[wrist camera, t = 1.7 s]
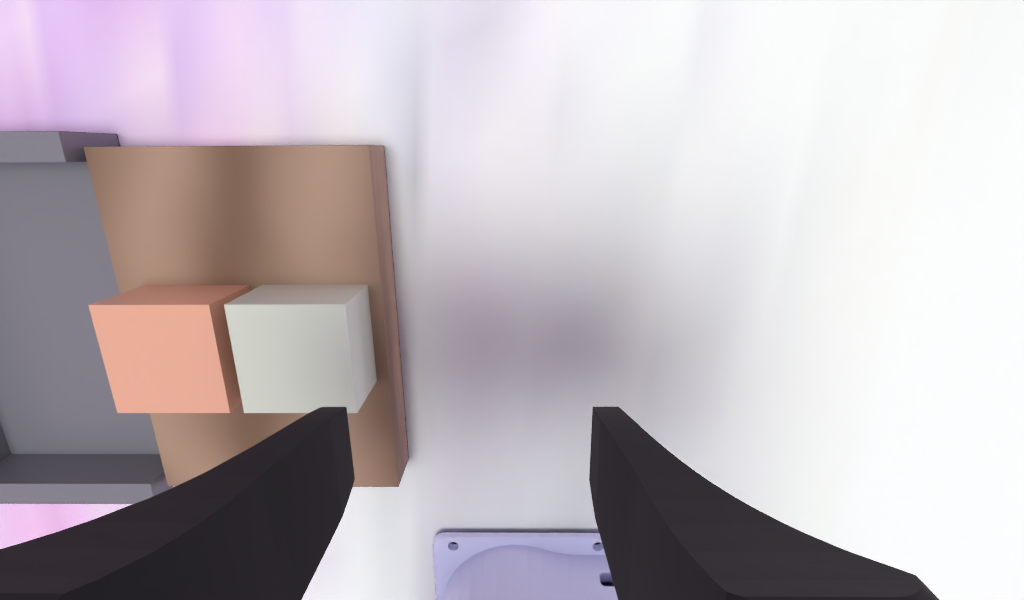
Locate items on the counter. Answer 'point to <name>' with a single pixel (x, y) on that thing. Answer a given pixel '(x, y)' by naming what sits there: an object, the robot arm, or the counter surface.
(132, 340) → the terracotta tile
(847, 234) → the counter surface
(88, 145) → the tray
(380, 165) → the walnut board
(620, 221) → the counter surface
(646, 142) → the counter surface
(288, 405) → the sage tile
